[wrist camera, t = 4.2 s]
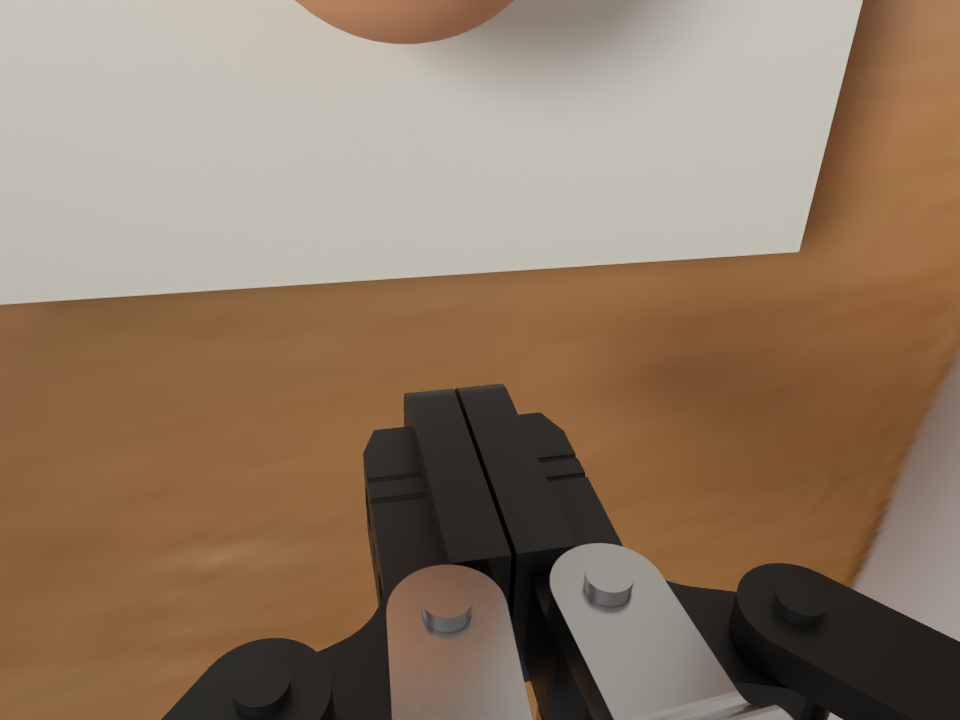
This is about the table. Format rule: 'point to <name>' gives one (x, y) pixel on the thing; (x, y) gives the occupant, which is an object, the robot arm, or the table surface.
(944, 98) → the table surface
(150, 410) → the table surface
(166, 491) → the table surface
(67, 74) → the hole board
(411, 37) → the ball
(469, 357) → the table surface
